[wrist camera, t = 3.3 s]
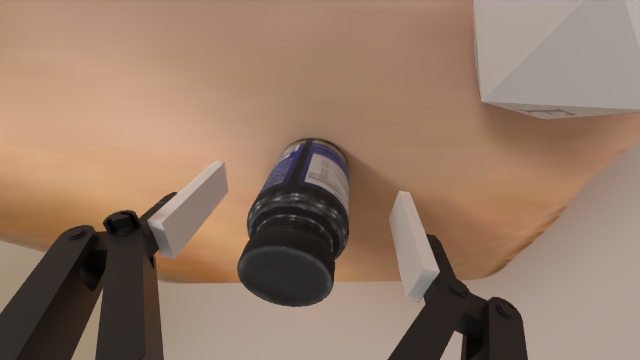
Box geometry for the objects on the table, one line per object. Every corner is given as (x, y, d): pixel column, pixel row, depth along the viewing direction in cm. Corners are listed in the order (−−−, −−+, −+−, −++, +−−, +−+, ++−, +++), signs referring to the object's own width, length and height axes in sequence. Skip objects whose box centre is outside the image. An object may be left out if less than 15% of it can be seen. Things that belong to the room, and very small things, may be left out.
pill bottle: (288, 197, 22) (243, 312, 13) (273, 138, 19) (198, 235, 10) (352, 194, 21) (352, 317, 12) (346, 131, 18) (342, 233, 9)
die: (412, 12, 14) (458, 155, 10) (638, -313, 6) (1149, -207, 3) (502, 50, 17) (563, 172, 13) (732, -140, 9) (1034, 26, 5)
